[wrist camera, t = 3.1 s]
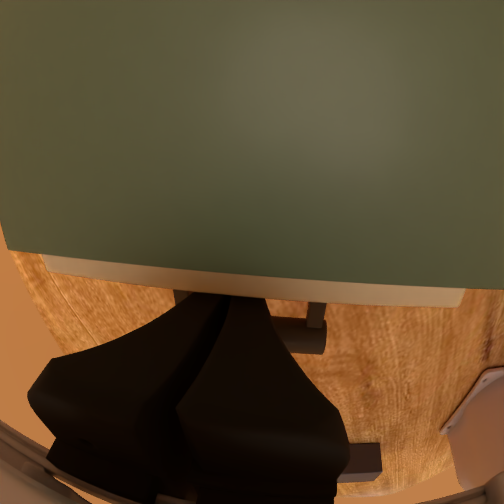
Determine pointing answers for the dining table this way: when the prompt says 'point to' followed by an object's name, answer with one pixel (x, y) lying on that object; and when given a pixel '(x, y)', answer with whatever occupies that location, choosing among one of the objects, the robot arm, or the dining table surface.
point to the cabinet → (258, 136)
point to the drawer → (265, 293)
